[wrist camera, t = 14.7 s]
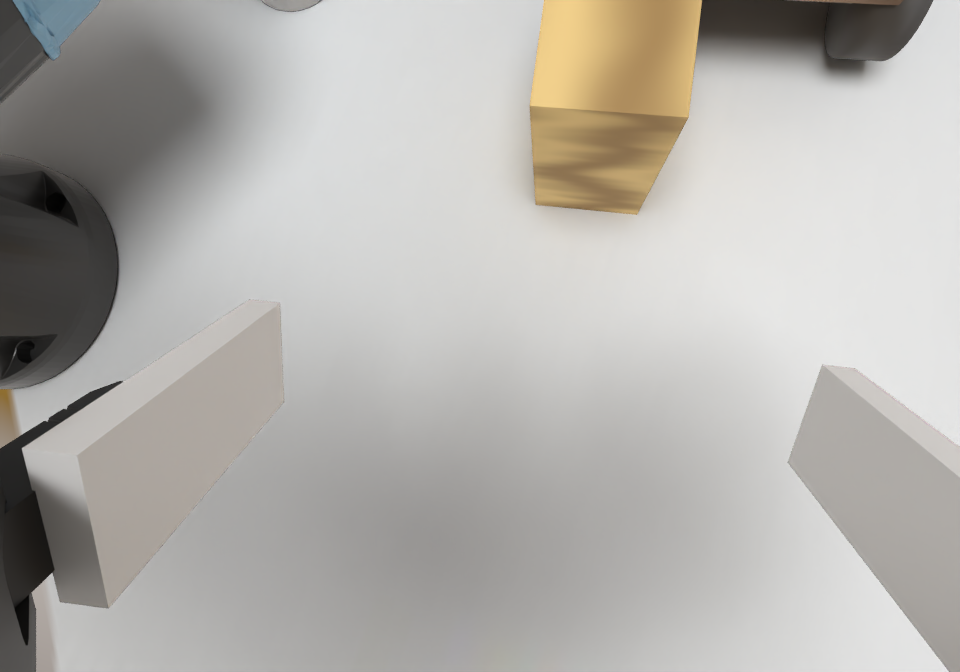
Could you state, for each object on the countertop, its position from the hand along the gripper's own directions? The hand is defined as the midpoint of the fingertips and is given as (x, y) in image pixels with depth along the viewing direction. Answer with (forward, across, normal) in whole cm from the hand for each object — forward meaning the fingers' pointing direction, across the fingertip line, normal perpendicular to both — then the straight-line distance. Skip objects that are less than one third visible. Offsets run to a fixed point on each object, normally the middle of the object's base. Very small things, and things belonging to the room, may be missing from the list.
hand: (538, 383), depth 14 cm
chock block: (+23, +3, +5) cm, 24 cm away
